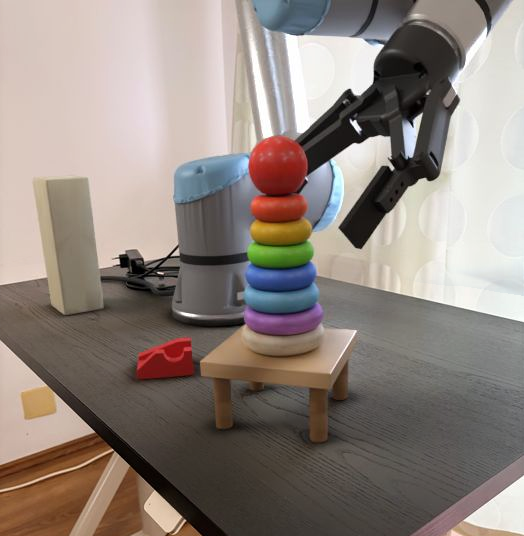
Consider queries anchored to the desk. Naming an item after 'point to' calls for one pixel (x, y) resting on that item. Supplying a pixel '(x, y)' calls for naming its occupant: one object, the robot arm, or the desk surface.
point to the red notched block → (166, 360)
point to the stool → (283, 374)
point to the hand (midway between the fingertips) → (301, 230)
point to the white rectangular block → (68, 243)
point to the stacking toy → (280, 256)
